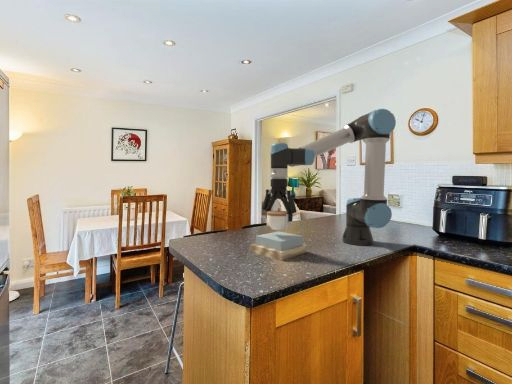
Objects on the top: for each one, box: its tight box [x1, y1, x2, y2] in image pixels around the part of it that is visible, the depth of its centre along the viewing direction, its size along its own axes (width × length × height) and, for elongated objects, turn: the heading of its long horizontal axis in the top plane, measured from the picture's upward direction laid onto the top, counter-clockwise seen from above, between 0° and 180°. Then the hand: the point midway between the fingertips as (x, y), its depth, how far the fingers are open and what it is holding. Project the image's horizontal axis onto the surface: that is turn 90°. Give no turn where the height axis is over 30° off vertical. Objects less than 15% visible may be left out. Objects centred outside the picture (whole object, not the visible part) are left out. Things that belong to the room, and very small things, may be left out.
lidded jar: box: [266, 207, 287, 231], centre depth 123 cm, size 11×11×9 cm
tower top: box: [255, 230, 304, 251], centre depth 124 cm, size 15×15×4 cm
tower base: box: [249, 243, 307, 261], centre depth 124 cm, size 18×18×4 cm
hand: (278, 227), depth 124 cm, fingers closed on lidded jar, 11 cm apart
